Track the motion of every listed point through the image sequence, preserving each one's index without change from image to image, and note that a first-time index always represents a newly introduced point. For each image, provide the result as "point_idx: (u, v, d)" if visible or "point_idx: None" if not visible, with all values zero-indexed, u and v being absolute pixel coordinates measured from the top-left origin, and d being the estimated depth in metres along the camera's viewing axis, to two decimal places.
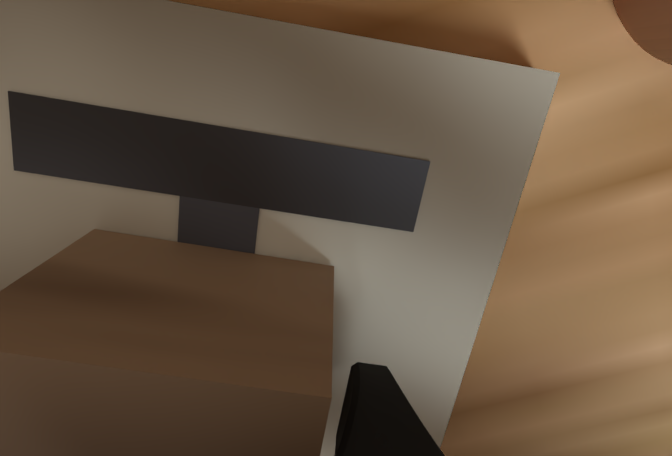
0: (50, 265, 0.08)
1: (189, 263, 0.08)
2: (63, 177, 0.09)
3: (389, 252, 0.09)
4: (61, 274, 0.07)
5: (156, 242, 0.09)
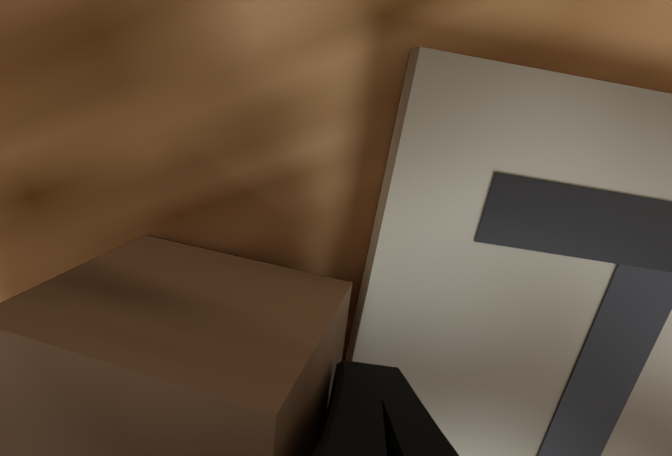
0: (91, 264, 0.09)
1: (210, 270, 0.09)
2: (517, 247, 0.09)
3: None
4: (96, 273, 0.08)
5: (190, 249, 0.10)
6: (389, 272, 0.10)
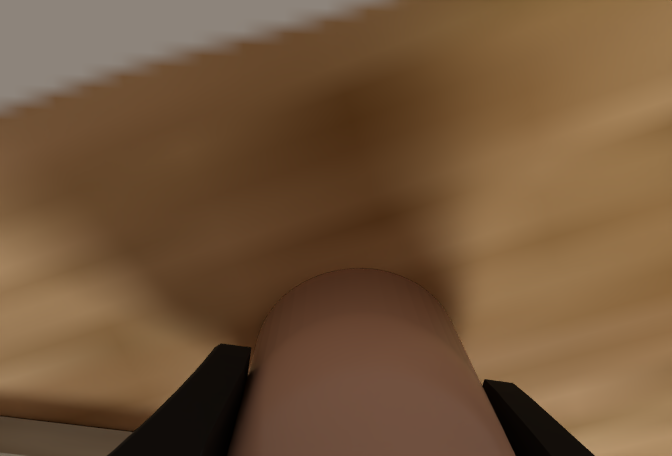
0: None
1: None
2: None
3: None
4: None
5: None
6: None
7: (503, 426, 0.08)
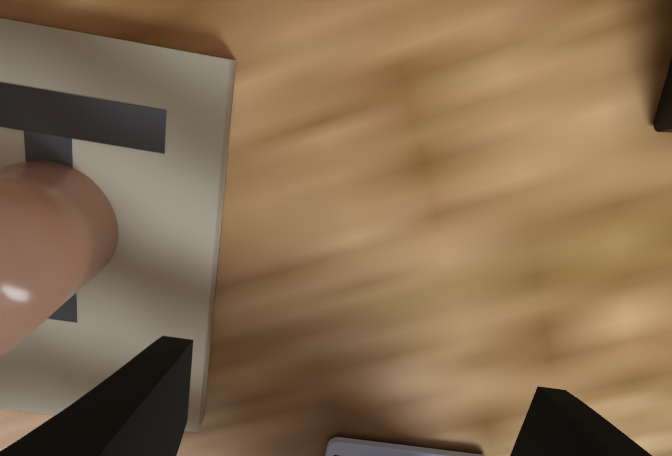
0: None
1: None
2: None
3: (153, 166, 0.16)
4: None
5: None
6: None
7: (563, 434, 0.08)
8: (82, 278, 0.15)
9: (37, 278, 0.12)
